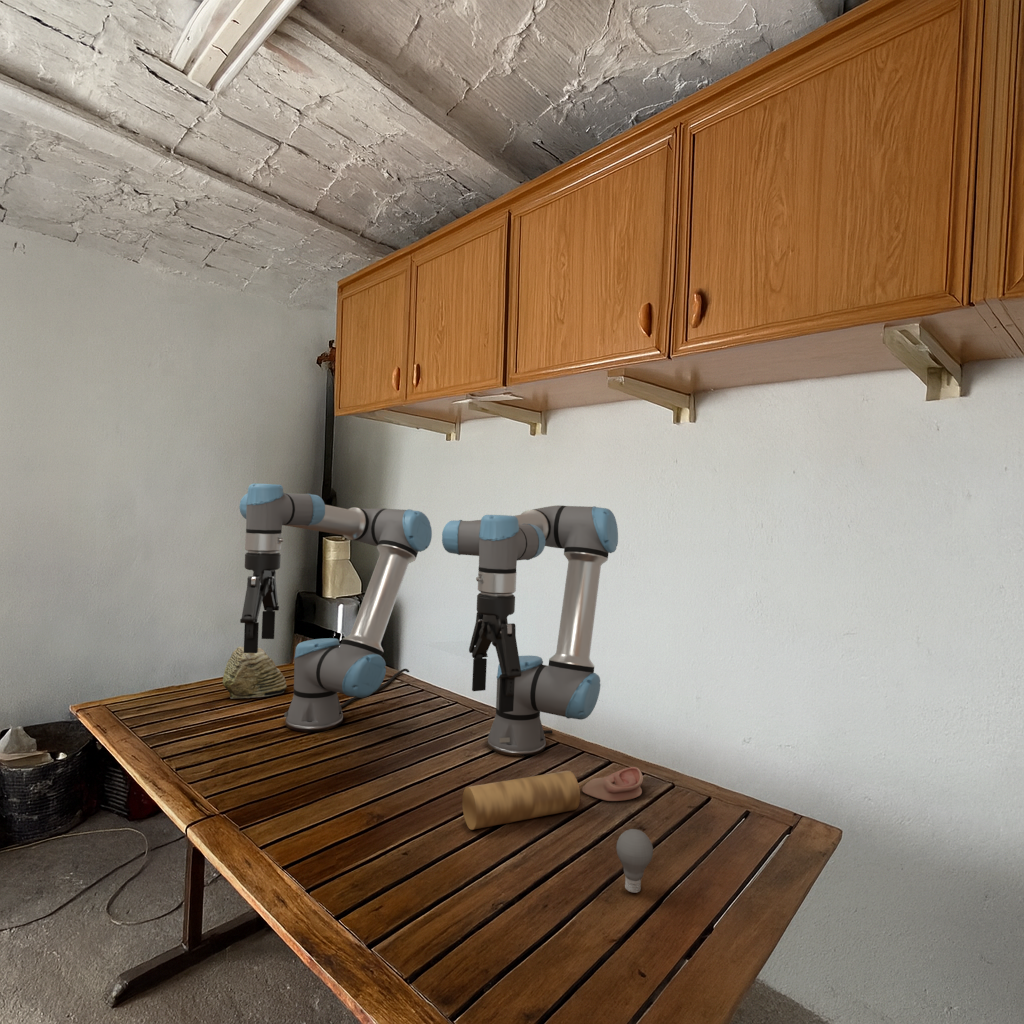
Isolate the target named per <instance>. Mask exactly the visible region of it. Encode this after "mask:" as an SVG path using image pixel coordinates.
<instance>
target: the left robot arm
mask: <svg viewBox="0 0 1024 1024" xmlns="http://www.w3.org/2000/svg"><path fill="white" fill-rule="evenodd" d="M239 513H240V515H241V516H242V518H244V519H245V522H246V523H245V539H244V540H245V543H244V550H245V551H247V552H245V553H244V569H245V570H248V571H252V572H253V573H252V575H251V576H250V575H249V576H247V581H246V582H247V583H246V591H245V597H244V601H243V608H242V613H241V618H240V619H239V622H240V624H244V628H243V629H244V631H243V632H244V633H243V647H244V653H257V652H258V648H259V629H260V628H259V625H260V623H259V622H258V621H259V620H258V619H259V615H260V611H261V607H262V606H263V610H262V615H261V616H262V617H261V640H274V639H275V627H276V624H275V623H276V611H280V605H279V601H278V590H277V581H276V574H277V570H279V569H280V568H281V557H282V556H281V555H282V554H281V553H280V552H279V551H280V550H281V549H282V543H283V542H284V541H285V539H284V537H282V533H283V530H282V529H283V526H285V527H291V528H298V529H302V530H310V531H316V532H322V533H328V534H334V535H340V536H343V537H344V538H345V539H347V540H349V541H354V542H355V541H356V542H358V543H363V544H366V545H369V546H370V545H371V546H374V547H376V549H377V551H378V553H379V555H378V556H379V557H378V559H377V561H376V564H375V566H374V569H373V572H372V575H371V577H370V580H369V582H368V585H367V588H366V590H365V593H364V596H363V599H362V601H361V604H360V606H359V607H360V608H359V610H358V612H357V615H356V618H355V621H354V624H353V625H352V628H351V630H350V634H348V635H347V636H344V637H343V638H342V639H341V642H340V641H339V639H338V638H335V637H333V638H332V637H329V638H315V639H314V638H313V639H308V640H304V641H302V642H299V643H298V644H297V645H296V646H295V652H294V653H295V654H294V657H293V659H294V660H293V662H294V663H293V665H294V667H293V695H292V696H293V697H292V699H291V702H290V704H289V708H288V710H287V711H285V712H284V714H283V715H284V716H283V718H285V726H286V728H287V729H289V730H291V731H294V732H295V731H296V732H301V733H316V732H325V731H329V730H332V729H335V728H337V727H339V726H340V725H342V723H343V722H344V714H343V709H342V708H344V707H346V706H347V705H349V704H350V703H352V702H353V701H357V700H358V699H361V698H367V697H370V696H371V695H372V694H374V693H376V692H379V691H380V690H382V689H384V688H386V687H387V686H388V685H389V684H391V682H392V681H394V680H395V679H396V678H397V677H398V676H399V675H401V674H402V673H404V672H405V673H410V670H409V669H408V668H403V669H401V670H399V671H397V672H396V673H394V674H393V675H392V676H391V677H390V678H389V679H388V680H387V681H386V682H385V683H383V682H384V680H385V678H386V673H387V667H386V666H387V663H386V661H385V659H384V657H383V655H384V651H385V650H384V649H383V647H382V641H383V638H384V635H385V633H386V630H387V628H388V627H387V626H388V624H389V621H390V618H391V615H392V612H393V610H394V606H395V604H396V602H397V598H398V595H399V593H400V589H401V586H402V583H403V581H404V577H405V575H406V572H407V569H408V567H409V564H411V563H413V562H416V561H417V560H416V559H417V557H418V554H419V552H420V553H421V552H424V551H425V550H427V549H428V548H429V546H430V545H431V543H432V537H433V530H432V526H431V522H430V519H429V518H428V516H427V515H426V514H425V513H424V512H423V511H420V510H413V509H410V508H409V509H401V508H400V509H398V508H384V507H383V508H382V507H381V508H361V507H355V506H353V507H350V508H344V507H339V506H334V505H330V504H326V503H325V501H324V500H323V498H322V497H321V496H319V495H318V494H311V493H293V492H292V493H289V492H287V493H286V492H284V487H283V485H281V484H274V483H254V482H253V483H251V484H249V485H248V488H247V493H245V494H244V495H243V496H242V497H241V499H240V502H239ZM338 694H342V695H345V696H347V697H351V698H350V699H348V700H347V701H345V702H344V703H342V704H341V702H340V699H339V695H338Z"/></svg>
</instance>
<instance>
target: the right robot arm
mask: <svg viewBox="0 0 1024 1024" xmlns="http://www.w3.org/2000/svg"><path fill="white" fill-rule="evenodd" d="M618 529H619V528H618V524H617V519H616V516H615V514H614V513H613V511H612V510H611V509H609V508H606V507H601V506H599V507H598V506H594V505H593V506H580V505H579V506H577V505H560V504H559V505H550V506H543V507H539V508H533V509H527V510H525V511H522V512H521V513H520V514H516V515H507V514H484V515H483V516H482V517H481V519H476V520H463V519H458V520H456V519H455V520H454V519H453V520H449V521H448V522H447V523H446V524H445V525H444V526H443V529H442V532H441V543H442V546H443V549H444V550H445V551H446V552H447V553H449V554H454V555H458V556H472V557H473V556H475V557H478V570H477V571H478V572H477V573H478V574H477V577H476V578H475V580H476V582H477V591H478V592H479V593H478V594H477V595H476V614H475V615H476V617H475V623H474V628H473V630H472V631H473V632H472V636H471V639H470V644H469V648H468V652H469V653H470V654H471V657H472V679H471V680H472V684H471V691H472V692H481V691H486V690H487V689H486V687H487V667H488V666H487V664H488V659H487V658H488V657H489V656H488V651H489V648H490V646H491V644H492V646H493V647H495V652H496V655H497V659H498V662H499V663H498V667H497V674H496V697H495V699H496V700H495V716H494V719H493V722H492V724H491V726H490V729H489V732H488V735H487V747H488V748H489V749H490V750H491V751H492V752H495V753H496V754H499V755H503V756H509V757H521V758H522V757H531V756H536V755H538V754H541V753H542V752H544V751H545V749H546V746H547V745H546V743H547V742H546V741H547V740H546V735H552V734H553V730H552V729H546V730H544V728H543V724H542V721H541V713H546V714H549V715H554V716H559V717H564V718H566V719H568V720H569V719H574V720H581V721H582V720H585V719H587V718H589V717H590V715H591V714H592V713H593V712H594V710H595V708H596V705H597V704H598V703H597V702H598V700H599V697H600V692H601V677H600V676H599V674H598V673H596V672H595V665H594V663H593V661H592V660H591V657H590V656H591V649H592V641H593V632H594V627H595V626H594V625H595V619H596V618H595V617H596V610H597V603H598V602H597V601H598V594H599V593H598V592H599V585H600V576H601V569H602V566H603V565H604V564H605V563H607V562H608V559H609V554H613V553H615V552H616V551H617V547H618V543H619V530H618ZM546 547H548V548H555V549H561V550H563V549H564V550H563V556H564V557H565V558H566V560H567V569H566V577H565V583H564V590H563V591H564V592H563V599H562V607H561V614H560V621H559V628H558V637H557V644H556V652H555V653H554V654H553V655H552V656H550V658H549V660H548V665H546V664H544V661H543V658H542V657H541V656H538V655H519V650H518V643H517V636H516V635H517V634H516V630H517V629H516V627H517V626H516V623H515V622H514V623H509V622H508V621H509V620H508V617H509V616H511V615H513V614H514V613H515V611H516V610H515V609H516V608H515V607H516V596H515V594H514V593H516V591H517V562H518V561H529V560H532V559H535V558H537V557H539V556H540V555H541V554H543V552H544V550H545V548H546Z"/></svg>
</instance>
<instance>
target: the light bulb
mask: <svg viewBox="0 0 1024 1024" xmlns="http://www.w3.org/2000/svg"><path fill="white" fill-rule="evenodd" d="M615 849H616V854H617V857H618V859H619V861H620V863H621V865H622V867H623V873H624V874H623V875H624V876H625V878H624V888H625V890H627V891H628V892H630V893H634V894H635V893H639V892H640V891H641V889H642V887H641V886H642V879H643V877H644V875H645V871H646V868H647V867H648V866H649V864H650V863H651V861H652V859H653V855H654V847H653V843H652V841H651V838H649V836H648V835H647V834H646V833H645V832H643V831H642V830H641V829H636V828H629V829H627V830H625V831H623V832H622V833H621V834H620V835H619V837H618V839H617V841H616V847H615Z"/></svg>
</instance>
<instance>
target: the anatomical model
mask: <svg viewBox="0 0 1024 1024" xmlns="http://www.w3.org/2000/svg"><path fill="white" fill-rule="evenodd" d="M643 782H644V775H643V773H642V771H641V770H640V769H639V768H638V767H637V766H630V767H625V768H623V769H620V770H617V771H615V772H613V773H610V774H608V775H605V776H604V777H596V778H595V777H594V778H592V779H590V780H588V781H587V782H586V783H585V784H584V785H583V786H582V788H581V792H582V793H583V794H585V795H587V796H590V797H593V798H595V799H598V800H602V801H606V802H619V801H621V802H622V801H628V800H633V799H635V798H638V797H640V796H641V795H642V793H643V789H642V787H641V786H642V784H643Z"/></svg>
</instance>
